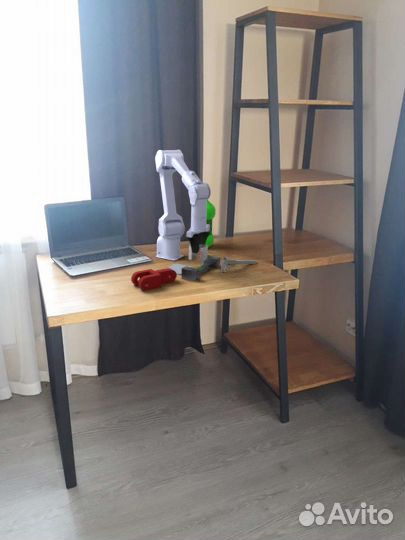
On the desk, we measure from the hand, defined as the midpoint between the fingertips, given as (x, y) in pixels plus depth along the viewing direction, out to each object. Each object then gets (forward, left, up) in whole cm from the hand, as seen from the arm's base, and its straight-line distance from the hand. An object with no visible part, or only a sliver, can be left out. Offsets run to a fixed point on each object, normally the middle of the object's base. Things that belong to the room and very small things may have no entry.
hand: (197, 251), depth 172 cm
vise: (+2, 0, -8) cm, 8 cm away
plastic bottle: (-14, +31, -9) cm, 35 cm away
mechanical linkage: (-6, -20, -9) cm, 22 cm away
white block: (0, 0, -3) cm, 3 cm away
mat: (-8, -2, -8) cm, 12 cm away
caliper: (+12, +14, -9) cm, 21 cm away
